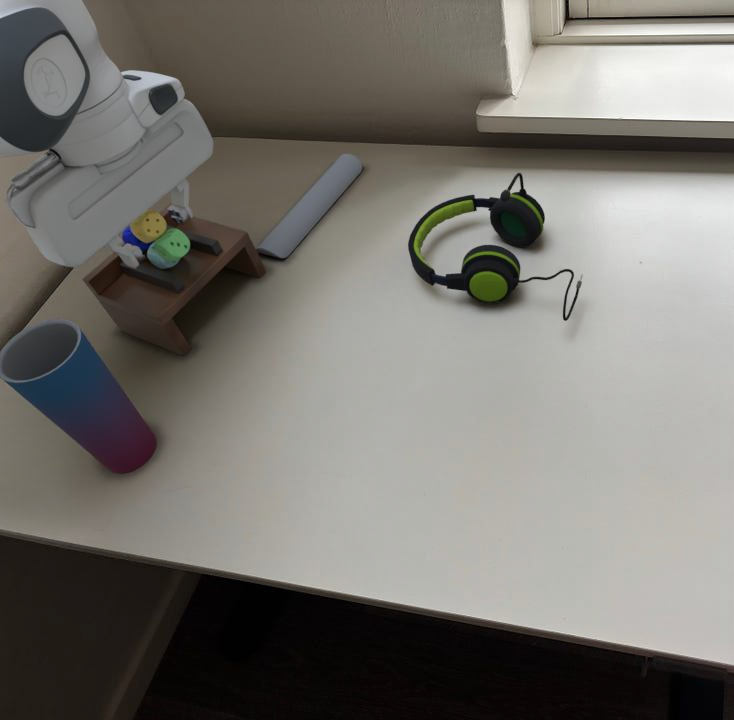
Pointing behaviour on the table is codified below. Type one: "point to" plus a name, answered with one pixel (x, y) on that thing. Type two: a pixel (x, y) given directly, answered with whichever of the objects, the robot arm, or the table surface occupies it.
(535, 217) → the headphones
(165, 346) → the laptop stand
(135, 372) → the table surface
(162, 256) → the dice
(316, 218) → the half round rod
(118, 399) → the cup
